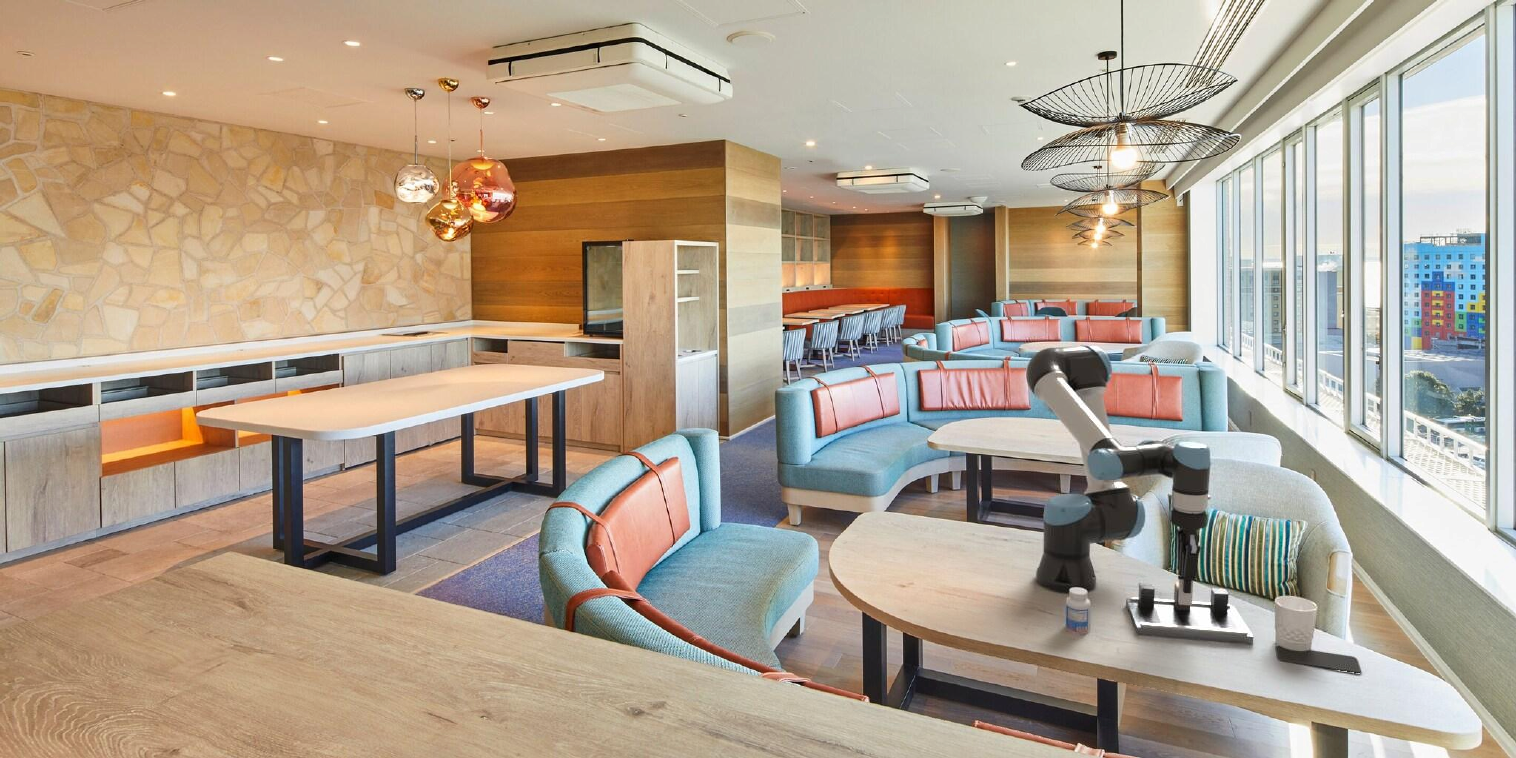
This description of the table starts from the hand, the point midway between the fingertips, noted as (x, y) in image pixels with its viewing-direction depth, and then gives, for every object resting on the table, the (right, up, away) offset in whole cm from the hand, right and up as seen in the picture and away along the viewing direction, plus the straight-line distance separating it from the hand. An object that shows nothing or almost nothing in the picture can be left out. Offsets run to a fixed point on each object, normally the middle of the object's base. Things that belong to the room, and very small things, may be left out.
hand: (1184, 603), depth 196 cm
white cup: (+18, -6, -12) cm, 22 cm away
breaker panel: (0, -5, -1) cm, 5 cm away
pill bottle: (-26, -6, -1) cm, 27 cm away
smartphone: (+19, -8, -19) cm, 28 cm away
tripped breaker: (+1, -2, +3) cm, 4 cm away
